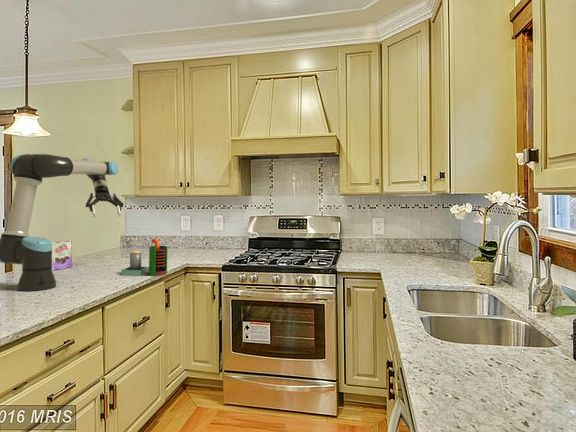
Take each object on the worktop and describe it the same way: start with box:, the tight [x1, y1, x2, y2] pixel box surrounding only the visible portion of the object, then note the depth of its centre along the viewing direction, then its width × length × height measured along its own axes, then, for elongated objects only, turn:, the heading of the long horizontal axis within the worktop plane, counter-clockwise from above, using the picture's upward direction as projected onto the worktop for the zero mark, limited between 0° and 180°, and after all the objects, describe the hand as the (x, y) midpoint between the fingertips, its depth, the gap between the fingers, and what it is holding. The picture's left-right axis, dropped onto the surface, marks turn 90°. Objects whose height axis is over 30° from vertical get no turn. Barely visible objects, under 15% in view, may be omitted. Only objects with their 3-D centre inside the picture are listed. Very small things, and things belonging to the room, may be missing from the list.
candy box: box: [51, 240, 73, 272], centre depth 226 cm, size 14×6×16 cm, turn 160°
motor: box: [148, 238, 168, 277], centre depth 216 cm, size 10×9×20 cm
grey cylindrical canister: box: [129, 250, 142, 270], centre depth 216 cm, size 6×6×12 cm
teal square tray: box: [120, 266, 149, 277], centre depth 217 cm, size 11×12×3 cm
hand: (107, 215), depth 220 cm, fingers open, 13 cm apart
